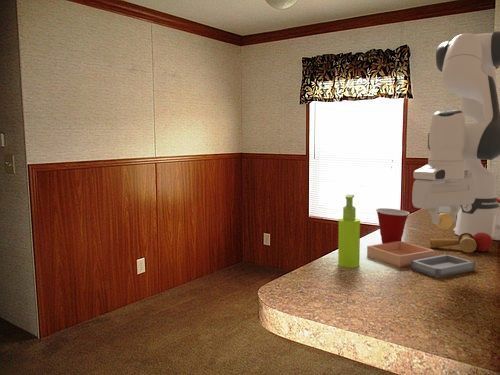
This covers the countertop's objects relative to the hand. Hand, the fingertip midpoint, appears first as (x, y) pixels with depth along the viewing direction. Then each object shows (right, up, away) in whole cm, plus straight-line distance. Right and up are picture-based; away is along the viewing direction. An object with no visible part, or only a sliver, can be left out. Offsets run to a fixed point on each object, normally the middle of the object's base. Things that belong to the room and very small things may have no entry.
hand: (443, 222), depth 116 cm
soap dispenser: (-24, -13, +8) cm, 28 cm away
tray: (0, -13, +2) cm, 13 cm away
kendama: (+15, -11, +22) cm, 29 cm away
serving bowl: (+42, -4, +84) cm, 94 cm away
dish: (-7, -12, +13) cm, 19 cm away
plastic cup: (-4, -10, +29) cm, 31 cm away
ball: (0, 0, 0) cm, 0 cm away
